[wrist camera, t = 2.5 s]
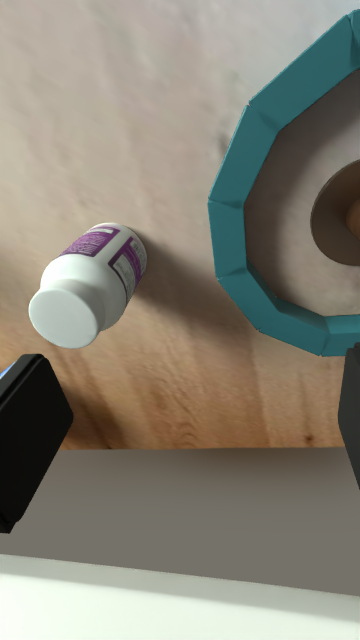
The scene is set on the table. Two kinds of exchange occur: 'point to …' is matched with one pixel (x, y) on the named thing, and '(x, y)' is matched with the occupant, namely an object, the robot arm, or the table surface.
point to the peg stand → (339, 216)
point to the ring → (240, 175)
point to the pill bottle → (88, 286)
